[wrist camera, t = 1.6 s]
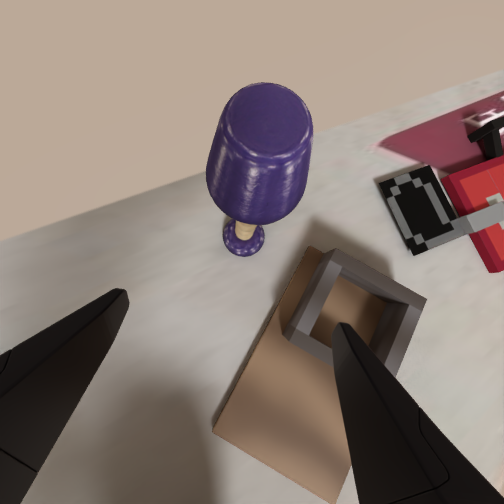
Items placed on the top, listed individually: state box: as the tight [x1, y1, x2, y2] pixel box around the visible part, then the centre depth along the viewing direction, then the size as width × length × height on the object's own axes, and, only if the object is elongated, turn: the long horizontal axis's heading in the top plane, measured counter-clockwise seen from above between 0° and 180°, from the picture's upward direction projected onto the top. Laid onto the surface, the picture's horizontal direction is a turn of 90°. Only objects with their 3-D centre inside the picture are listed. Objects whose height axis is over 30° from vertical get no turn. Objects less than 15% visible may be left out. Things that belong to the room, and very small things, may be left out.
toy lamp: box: [206, 82, 313, 257], centre depth 15 cm, size 5×5×17 cm
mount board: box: [212, 246, 427, 504], centre depth 20 cm, size 19×12×4 cm, turn 150°
